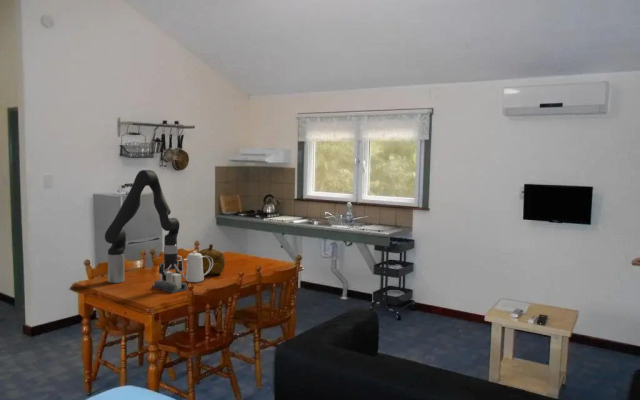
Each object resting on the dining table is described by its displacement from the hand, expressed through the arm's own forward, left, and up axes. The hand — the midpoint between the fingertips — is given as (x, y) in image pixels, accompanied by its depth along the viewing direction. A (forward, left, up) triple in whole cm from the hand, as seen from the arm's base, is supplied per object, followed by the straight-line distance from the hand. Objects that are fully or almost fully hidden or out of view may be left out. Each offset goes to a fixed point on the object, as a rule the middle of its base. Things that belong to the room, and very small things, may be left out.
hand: (170, 279), depth 305 cm
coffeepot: (-5, +20, -5) cm, 21 cm away
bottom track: (0, 0, -5) cm, 5 cm away
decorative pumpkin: (-14, +39, -5) cm, 42 cm away
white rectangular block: (0, 0, -4) cm, 4 cm away
